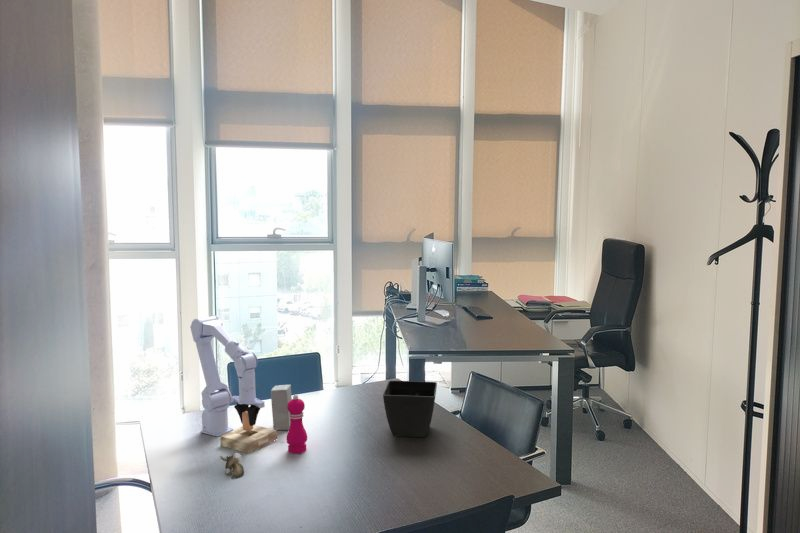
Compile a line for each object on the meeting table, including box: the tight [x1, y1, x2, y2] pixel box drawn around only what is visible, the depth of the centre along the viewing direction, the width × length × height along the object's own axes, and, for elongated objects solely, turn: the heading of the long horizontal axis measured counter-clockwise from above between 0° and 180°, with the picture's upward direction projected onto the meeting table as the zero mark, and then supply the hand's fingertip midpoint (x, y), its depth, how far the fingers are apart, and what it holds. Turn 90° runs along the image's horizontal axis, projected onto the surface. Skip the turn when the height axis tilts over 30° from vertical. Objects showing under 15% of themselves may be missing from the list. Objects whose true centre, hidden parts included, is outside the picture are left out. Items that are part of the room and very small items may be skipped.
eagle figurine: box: [219, 452, 245, 480], centre depth 192 cm, size 8×7×9 cm
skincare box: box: [270, 384, 293, 431], centre depth 232 cm, size 8×7×16 cm
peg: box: [242, 411, 253, 431], centre depth 216 cm, size 4×4×6 cm
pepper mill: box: [285, 394, 308, 455], centre depth 209 cm, size 7×7×20 cm
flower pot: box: [382, 380, 438, 438], centre depth 225 cm, size 19×19×17 cm
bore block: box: [219, 424, 278, 454], centre depth 217 cm, size 14×14×4 cm
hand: (248, 423), depth 217 cm, fingers closed on peg, 4 cm apart
